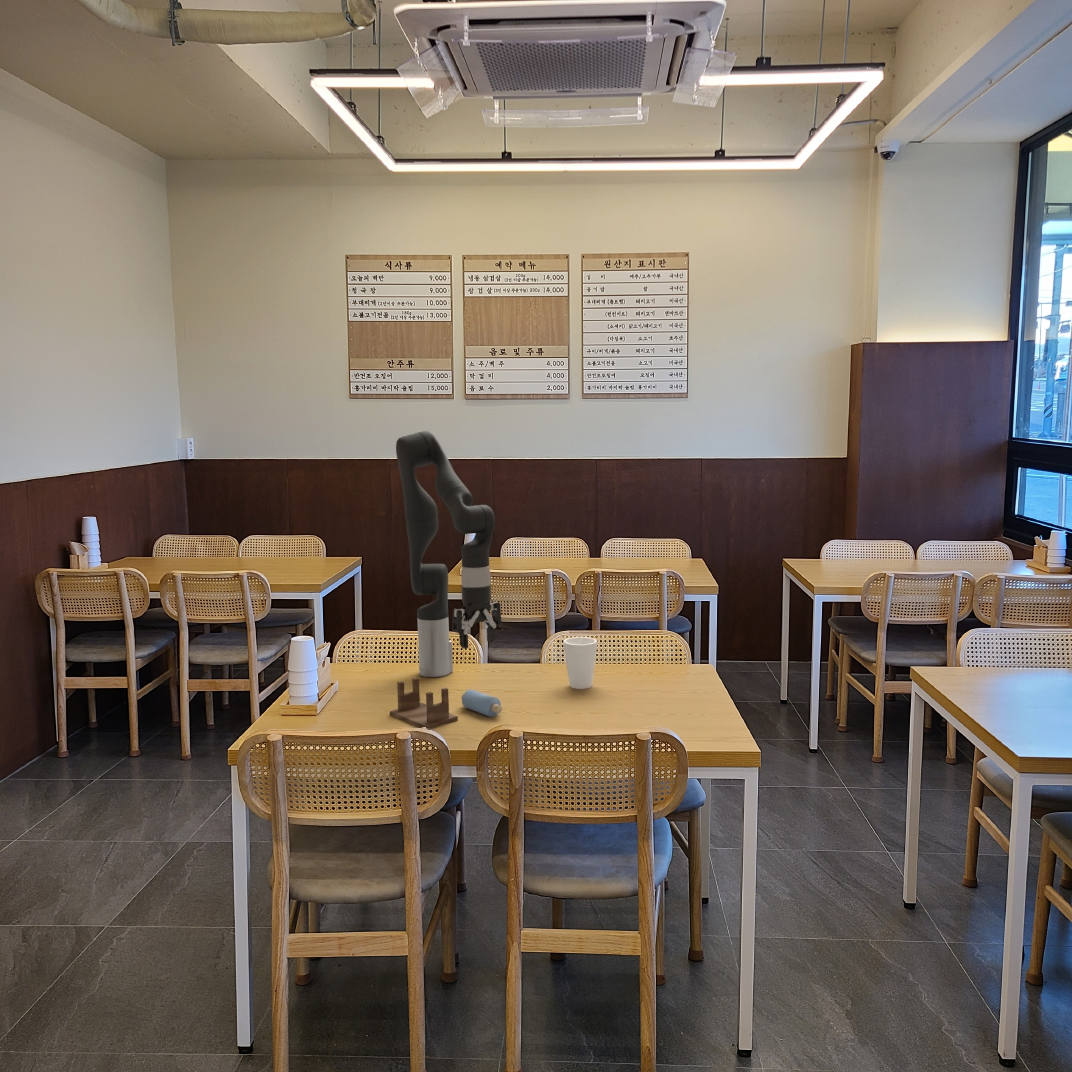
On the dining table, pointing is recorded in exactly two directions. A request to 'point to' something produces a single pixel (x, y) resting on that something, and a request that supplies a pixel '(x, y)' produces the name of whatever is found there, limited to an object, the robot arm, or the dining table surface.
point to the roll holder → (422, 707)
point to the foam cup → (580, 661)
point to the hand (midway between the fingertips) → (477, 645)
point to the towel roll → (481, 703)
